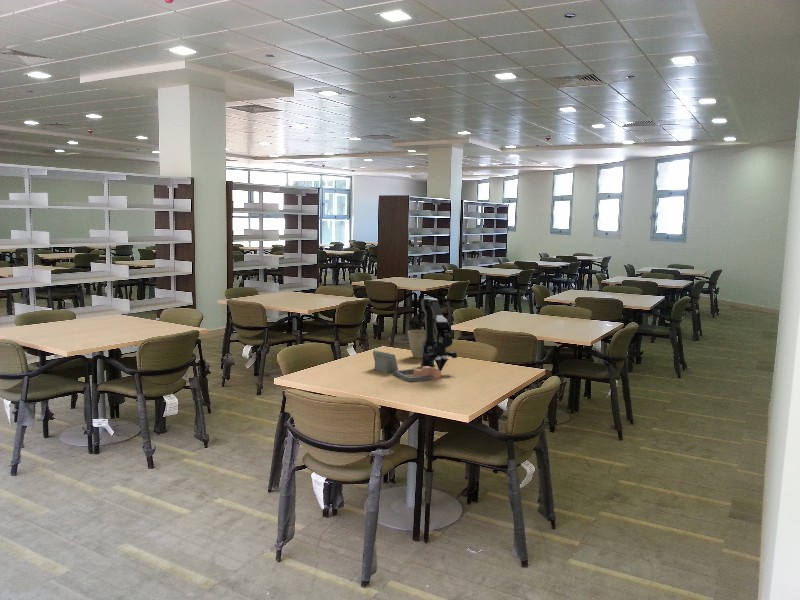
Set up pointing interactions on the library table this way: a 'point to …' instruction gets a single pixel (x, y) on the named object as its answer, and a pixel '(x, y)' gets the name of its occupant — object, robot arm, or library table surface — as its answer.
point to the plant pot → (416, 341)
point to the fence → (410, 379)
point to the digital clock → (385, 361)
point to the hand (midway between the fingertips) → (440, 371)
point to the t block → (427, 372)
